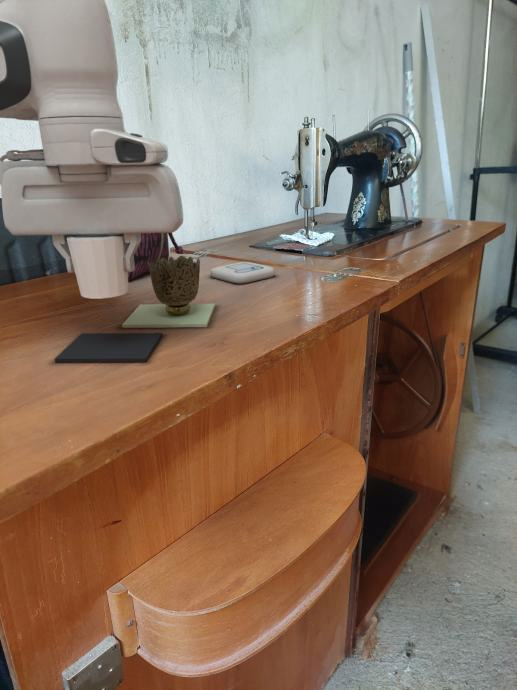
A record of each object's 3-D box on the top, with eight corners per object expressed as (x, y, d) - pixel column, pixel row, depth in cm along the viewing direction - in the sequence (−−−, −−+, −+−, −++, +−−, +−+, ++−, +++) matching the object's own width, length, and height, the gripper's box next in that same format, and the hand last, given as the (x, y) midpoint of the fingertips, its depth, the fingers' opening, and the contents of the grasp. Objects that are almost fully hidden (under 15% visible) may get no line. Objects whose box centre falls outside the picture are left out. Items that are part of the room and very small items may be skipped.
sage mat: (122, 328, 73) (121, 324, 73) (140, 307, 82) (139, 304, 82) (206, 327, 72) (206, 323, 72) (215, 306, 82) (215, 303, 82)
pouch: (133, 288, 94) (120, 178, 87) (94, 286, 96) (79, 178, 89) (191, 260, 116) (185, 171, 109) (158, 259, 118) (150, 171, 111)
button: (279, 267, 99) (238, 276, 93) (279, 276, 100) (239, 285, 94) (245, 260, 106) (206, 268, 100) (245, 268, 107) (206, 276, 101)
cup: (144, 313, 78) (138, 260, 75) (186, 303, 82) (182, 253, 79) (169, 324, 72) (164, 268, 69) (212, 313, 77) (209, 260, 74)
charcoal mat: (55, 362, 62) (54, 358, 61) (82, 336, 70) (81, 333, 70) (146, 362, 61) (145, 358, 61) (162, 336, 69) (162, 332, 69)
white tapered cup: (71, 290, 64) (62, 233, 62) (125, 282, 67) (119, 228, 65) (80, 303, 59) (71, 241, 56) (140, 294, 62) (133, 235, 59)
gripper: (-22, 150, 55) (4, 279, 59) (170, 145, 54) (180, 276, 59) (7, 150, 60) (29, 267, 65) (181, 145, 59) (189, 264, 64)
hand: (102, 271), depth 62 cm, fingers closed on white tapered cup, 5 cm apart
